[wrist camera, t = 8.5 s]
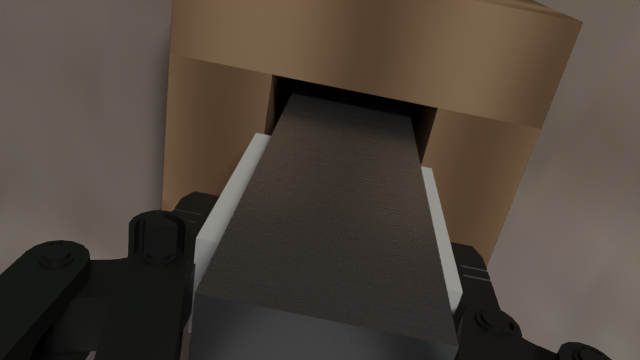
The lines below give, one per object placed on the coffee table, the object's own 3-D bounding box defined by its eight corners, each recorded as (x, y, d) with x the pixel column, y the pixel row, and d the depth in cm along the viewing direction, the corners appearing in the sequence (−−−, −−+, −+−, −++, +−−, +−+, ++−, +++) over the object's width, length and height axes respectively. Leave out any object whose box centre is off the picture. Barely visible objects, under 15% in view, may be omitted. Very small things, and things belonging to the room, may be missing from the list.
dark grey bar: (287, 164, 24) (178, 465, 10) (302, 70, 22) (194, 293, 8) (381, 183, 24) (393, 509, 10) (404, 91, 22) (459, 346, 8)
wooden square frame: (200, 205, 27) (158, 273, 22) (224, -63, 22) (175, -61, 16) (442, 254, 27) (459, 334, 22) (530, -1, 22) (583, 22, 16)
